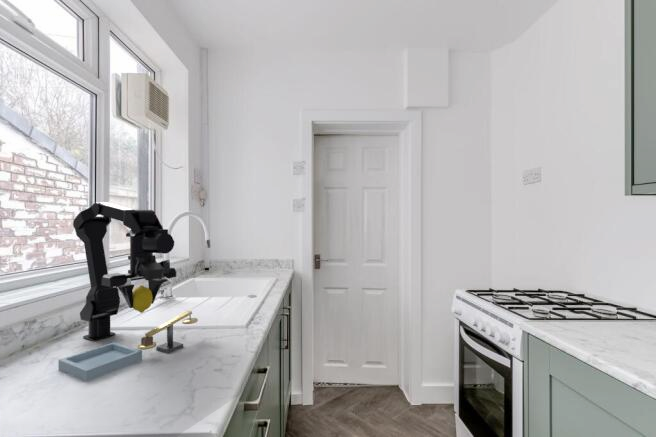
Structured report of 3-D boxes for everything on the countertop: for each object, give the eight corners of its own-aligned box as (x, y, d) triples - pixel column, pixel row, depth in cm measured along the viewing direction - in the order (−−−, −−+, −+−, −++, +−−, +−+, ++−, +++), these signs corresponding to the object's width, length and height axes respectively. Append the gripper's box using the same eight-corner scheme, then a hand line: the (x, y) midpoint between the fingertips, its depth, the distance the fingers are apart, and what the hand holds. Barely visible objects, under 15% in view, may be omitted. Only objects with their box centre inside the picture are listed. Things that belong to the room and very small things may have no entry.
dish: (58, 369, 80) (58, 359, 80) (114, 351, 91) (114, 342, 91) (86, 381, 74) (86, 370, 74) (142, 360, 85) (142, 350, 85)
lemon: (141, 316, 91) (141, 287, 91) (126, 314, 93) (125, 286, 93) (156, 310, 97) (156, 284, 97) (142, 309, 98) (141, 283, 98)
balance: (133, 358, 86) (133, 324, 86) (190, 337, 102) (190, 308, 102) (144, 362, 84) (144, 327, 84) (201, 339, 100) (201, 310, 100)
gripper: (120, 256, 83) (120, 318, 82) (187, 251, 98) (187, 302, 98) (100, 254, 89) (100, 311, 89) (166, 249, 104) (166, 297, 104)
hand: (141, 305), depth 95 cm, fingers closed on lemon, 5 cm apart
